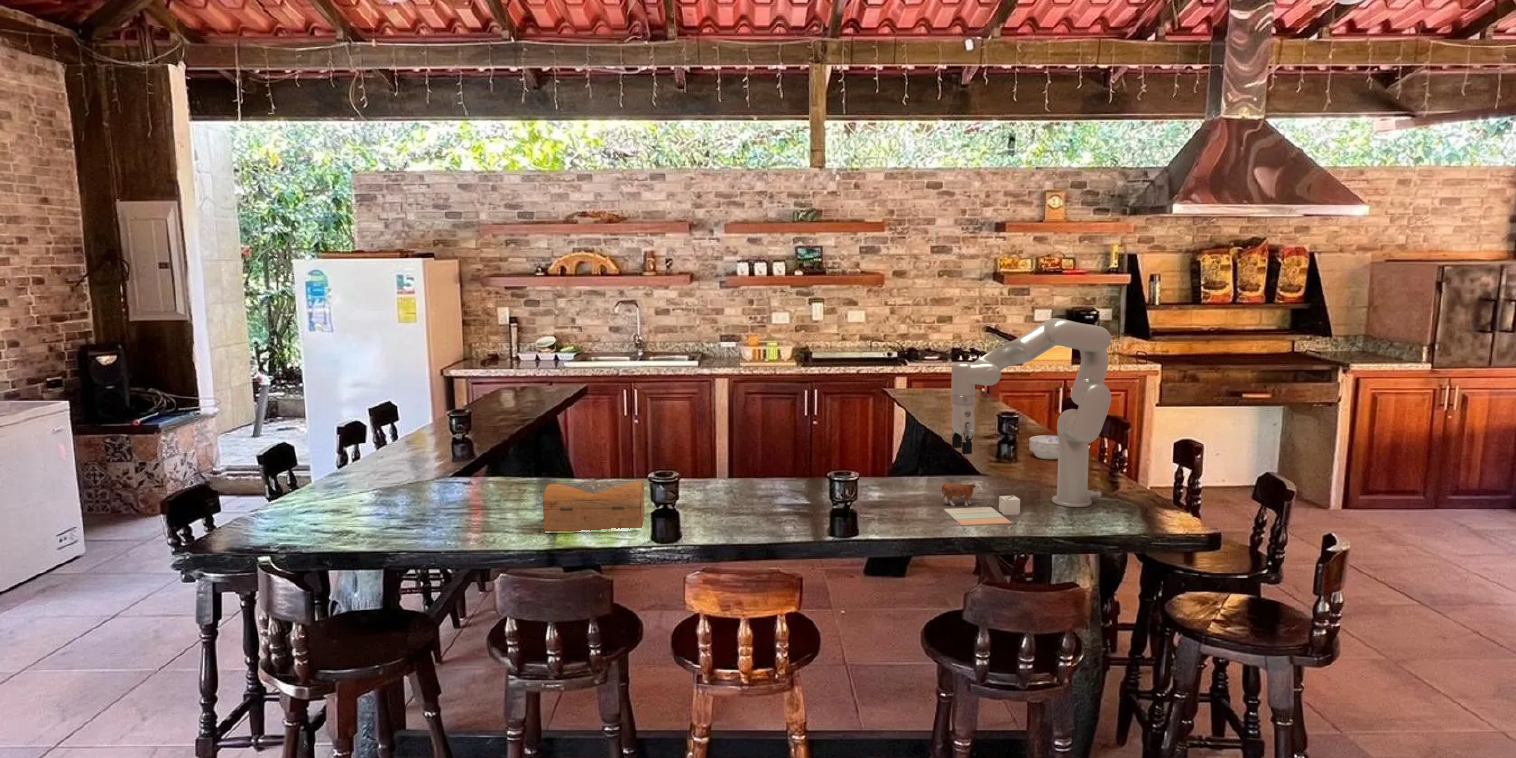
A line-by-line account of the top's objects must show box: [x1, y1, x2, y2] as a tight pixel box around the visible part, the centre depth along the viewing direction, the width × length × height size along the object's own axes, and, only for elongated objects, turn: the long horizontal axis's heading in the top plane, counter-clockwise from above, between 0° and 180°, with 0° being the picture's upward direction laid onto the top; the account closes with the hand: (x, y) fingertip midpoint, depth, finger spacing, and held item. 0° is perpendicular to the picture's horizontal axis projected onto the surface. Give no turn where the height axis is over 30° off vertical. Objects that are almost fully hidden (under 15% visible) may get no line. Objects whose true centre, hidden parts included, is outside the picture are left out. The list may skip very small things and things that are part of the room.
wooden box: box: [542, 480, 646, 532], centre depth 275 cm, size 30×16×14 cm, turn 93°
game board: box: [943, 506, 1013, 527], centre depth 280 cm, size 16×18×1 cm
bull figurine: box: [941, 481, 984, 507], centre depth 293 cm, size 4×13×8 cm, turn 78°
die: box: [998, 495, 1021, 516], centre depth 284 cm, size 5×5×5 cm
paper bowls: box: [1028, 434, 1059, 460], centre depth 362 cm, size 15×15×8 cm
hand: (961, 450), depth 291 cm, fingers open, 9 cm apart
